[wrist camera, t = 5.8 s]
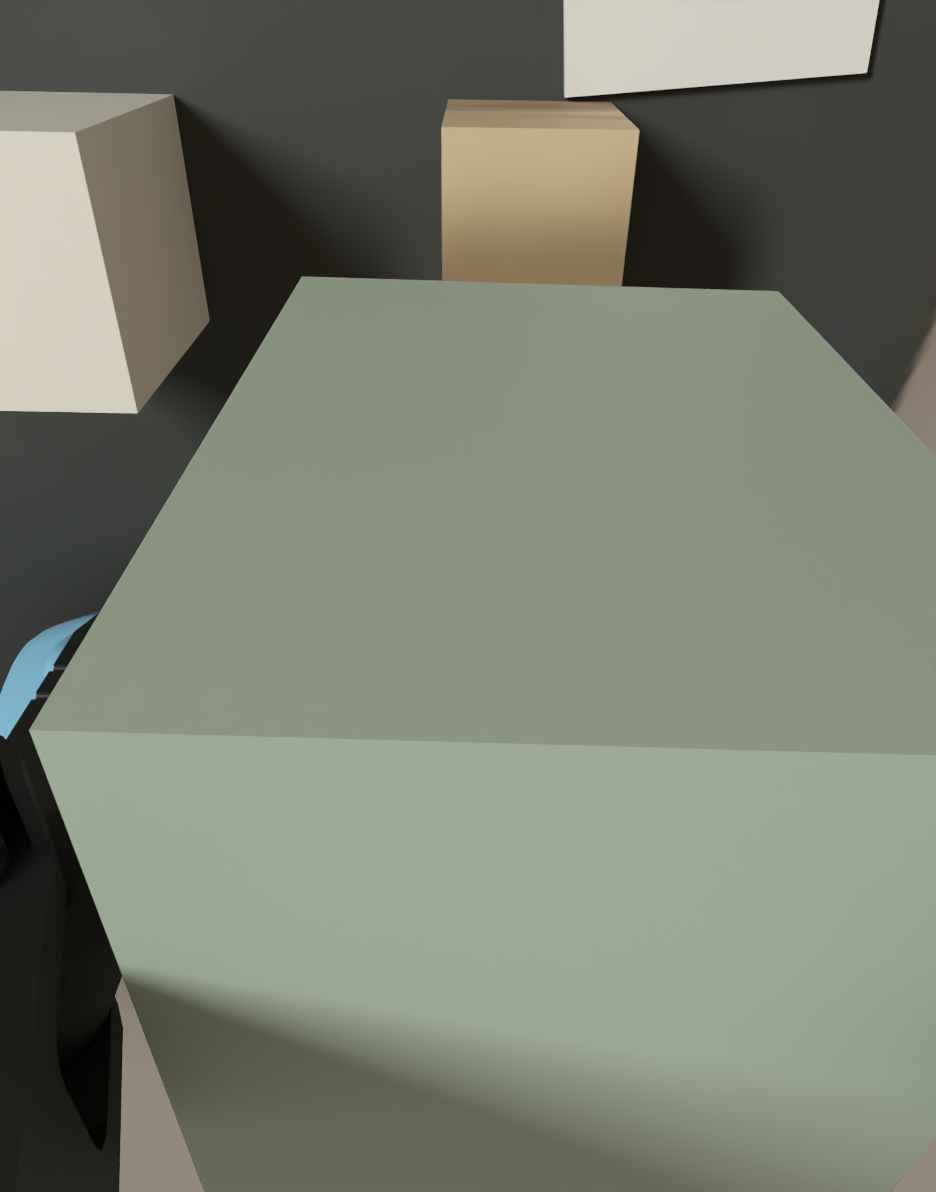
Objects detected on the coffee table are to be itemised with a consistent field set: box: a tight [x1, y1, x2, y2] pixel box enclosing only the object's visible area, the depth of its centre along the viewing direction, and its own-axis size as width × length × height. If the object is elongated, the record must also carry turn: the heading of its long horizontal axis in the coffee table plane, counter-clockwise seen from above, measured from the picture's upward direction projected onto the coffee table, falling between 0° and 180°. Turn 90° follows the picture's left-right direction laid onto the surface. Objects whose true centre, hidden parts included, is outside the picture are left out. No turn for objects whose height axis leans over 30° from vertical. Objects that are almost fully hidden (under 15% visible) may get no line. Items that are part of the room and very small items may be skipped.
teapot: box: [0, 610, 101, 739], centre depth 36 cm, size 13×14×11 cm
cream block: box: [0, 91, 210, 413], centre depth 25 cm, size 7×6×8 cm
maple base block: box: [441, 99, 640, 286], centre depth 26 cm, size 7×5×6 cm
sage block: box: [29, 276, 936, 1192], centre depth 9 cm, size 6×6×8 cm
